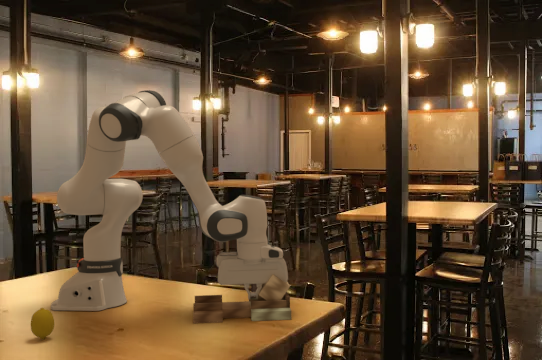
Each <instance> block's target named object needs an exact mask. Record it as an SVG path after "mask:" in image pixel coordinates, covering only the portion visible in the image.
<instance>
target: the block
mask: <svg viewBox="0 0 542 360" xmlns="http://www.w3.org/2000/svg"><path fill="white" fill-rule="evenodd" d="M290 287H291V285H290V284H289V282H288V281H287V282H286V283H285V282H284V281H282V280H281V279H279V278H278V277H276V276H275V275H273V274H272V275H271V277H270V278H269V280H268V281H267V283H265V284H262V288H261V290H260V292H259V293H258V294H259V296H261V297H262V298H264V299H265V300H267V301H271V300H281V299H282V297H283V296H284V295H285V293H286V292H287V293H288V290H289V289H290Z"/></svg>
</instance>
